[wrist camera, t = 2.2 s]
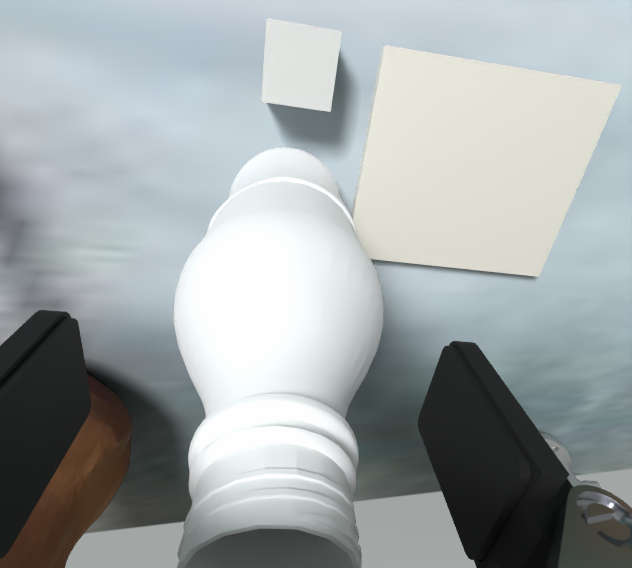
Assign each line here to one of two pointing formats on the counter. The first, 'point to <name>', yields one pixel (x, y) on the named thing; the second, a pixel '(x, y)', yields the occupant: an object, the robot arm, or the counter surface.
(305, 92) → the pale grey block
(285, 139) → the counter surface
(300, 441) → the water bottle
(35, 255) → the counter surface
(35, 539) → the butternut squash
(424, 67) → the placemat
